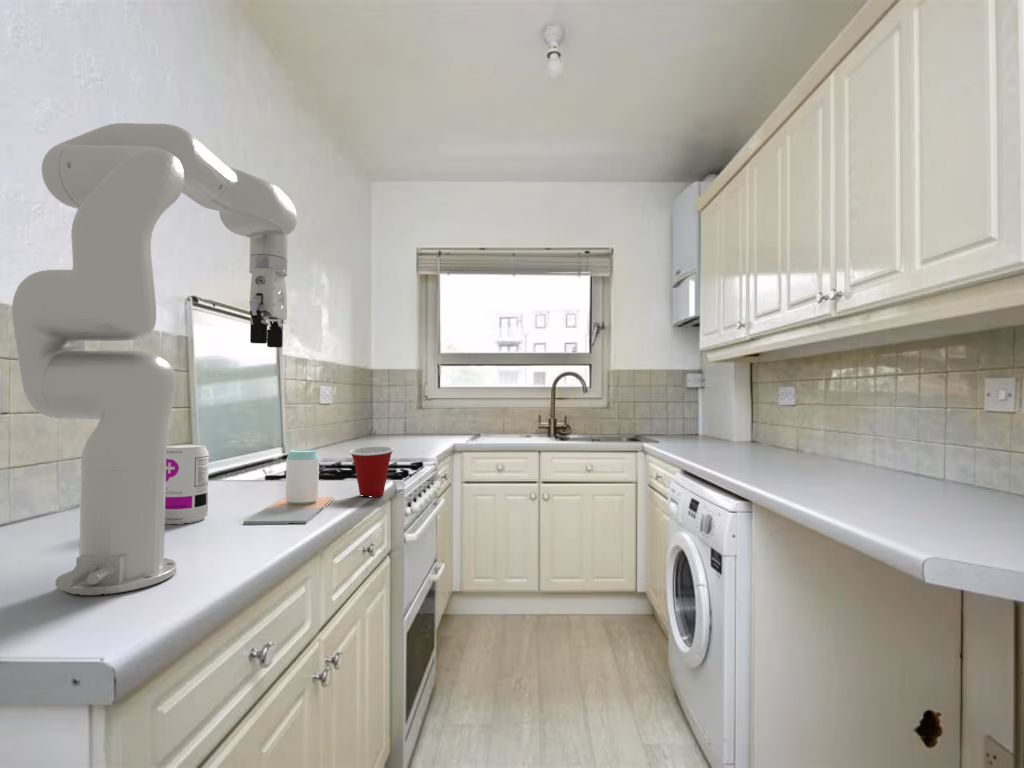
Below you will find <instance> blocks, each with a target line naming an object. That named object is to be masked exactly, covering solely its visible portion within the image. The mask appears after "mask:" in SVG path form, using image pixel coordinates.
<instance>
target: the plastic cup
mask: <svg viewBox="0 0 1024 768" xmlns="http://www.w3.org/2000/svg"><path fill="white" fill-rule="evenodd" d="M393 452H394V448H393V447H390V446H378V445H376V446H366V447H365V446H364V447H358V448H353V449H351V450H349V453H350V454H351V456H352V460H353V463H354V467H355V475H356V480H357V486H358V492H359V496H360V495H363V496H372V497H371V498H377V497H382V496H384V492H385V487H386V482H387V479H388V473H389V467H390V462H391V457H392V453H393Z"/></svg>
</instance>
